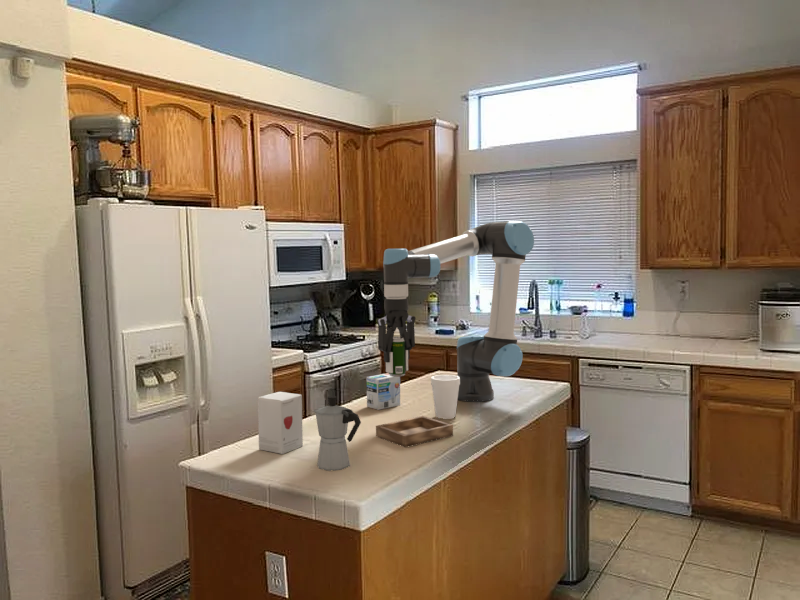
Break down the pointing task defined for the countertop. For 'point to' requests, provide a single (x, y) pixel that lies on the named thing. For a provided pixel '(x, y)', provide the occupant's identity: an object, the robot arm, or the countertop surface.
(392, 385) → the light bulb box
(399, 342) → the beer can
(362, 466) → the countertop surface
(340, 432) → the coffee maker
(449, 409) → the foam cup
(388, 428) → the tray
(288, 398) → the supplement box
